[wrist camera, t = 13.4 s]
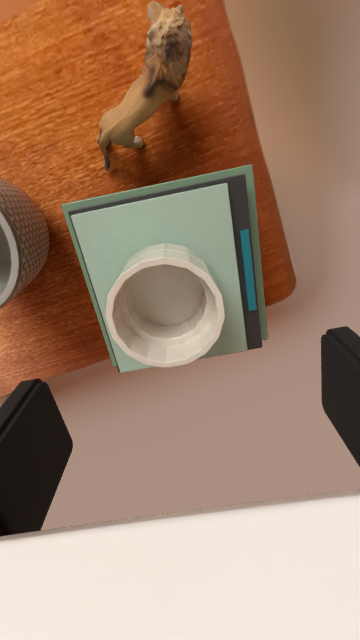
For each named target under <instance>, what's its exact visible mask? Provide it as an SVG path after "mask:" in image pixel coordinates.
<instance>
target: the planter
mask: <svg viewBox="0 0 360 640" xmlns="http://www.w3.org/2000/svg"><path fill="white" fill-rule="evenodd" d="M49 245H50V243H49V232H48V227H47V224H46V221H45V219H44V217H43V215H42V213H41V211H40V209H39V208H38V207H37V205H36V204H35V202H34V201H33V200H32V199H31V198H30V197H29V196H28V195H27V194H26V193H25V192H23V191H22V190H21V189H20V188H18V187H16V186H15V185H13V184H12V183H10V182H8V181H6V180H4V179H1V178H0V308H2V307H3V306H5V305H6V304H7V303H9V302H10V301H11V300H12V299H13V298H14V297H16V296H17V295H18V294H19V293H20V292H21V291H22V290H23V289H24V288H25V287H27V286H28V285H29V284H30V283H31V281H32V280H33V279H34V278H35V277H36V276H37V274H38V273H39V272H40V271H41V269H42V267H43V265H44V263H45V262H46V259H47V256H48V252H49Z"/></svg>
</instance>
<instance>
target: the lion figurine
mask: <svg viewBox="0 0 360 640" xmlns="http://www.w3.org/2000/svg"><path fill="white" fill-rule="evenodd" d="M148 18H149V21H150V22H151V28H150V30H149V31H148V33H147V37H148V38H147V40H146V49H147V52H146V53H145V64H144V66H143V68H142V71H141V75H140V76H139V77H138V78H137V79H136V80H135V82H134V83H133V84H132V86H131V87H130V89H129V90H128V92H127V93H126V95H125V97H124V99H123V101H122V102H121V103H120V104H119V105H118V106H117V107H115V108H112V109H110V110H108V111H107V112H106V113H105V114H104V116H103V117H102V119H101V120H100V123H99V129H100V132H99V134H98V136H97V138H96V140H97V142H98V144H99V146H100V149H101V151H102V153H103V155H104V158H105V170H106V171H108V170H109V167H110V159H109V156H108V153H107V149H106V146H107V145H108V144H109V141H110V142H112V143H114V144H117V145H122V146H124V147H125V148H141V147H142V146H143V144H144V141H143V139H142V138H141V137H140V136H137V137H135V135H134V129H135V128H136V127H137V126H138V125H140V124H141V123H143V122H145V121H146V120H147V119H149V118H150V117H151V116H152V115H153V113H154V112H155V111H156V110H157V109H158V108H159V107H160V106H161V105H162V103H163V102H164V100H165V98H166V100H168V101H171V102H174V101H176V100H177V99H178V95H179V94H178V91H177V90H178V89H179V88H180V87H181V85H182V84H183V81H184V80H185V76H186V75H187V69H188V67H189V61H190V56H191V54H190V49H191V47H192V40H191V38H192V34H191V28H190V22H189V21H188V20H187V19H186V18H185V17H184V15H183V7H182V5H179V6H178V7H177V8H172V9H171V10H169V9H168V8H163V7H162V6H161V5H160V4H159V3H157V2H156V1H152V2H150V3H149V5H148Z"/></svg>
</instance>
